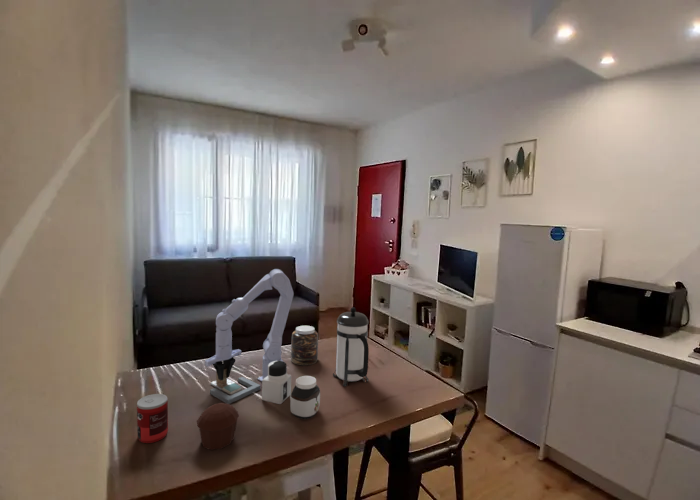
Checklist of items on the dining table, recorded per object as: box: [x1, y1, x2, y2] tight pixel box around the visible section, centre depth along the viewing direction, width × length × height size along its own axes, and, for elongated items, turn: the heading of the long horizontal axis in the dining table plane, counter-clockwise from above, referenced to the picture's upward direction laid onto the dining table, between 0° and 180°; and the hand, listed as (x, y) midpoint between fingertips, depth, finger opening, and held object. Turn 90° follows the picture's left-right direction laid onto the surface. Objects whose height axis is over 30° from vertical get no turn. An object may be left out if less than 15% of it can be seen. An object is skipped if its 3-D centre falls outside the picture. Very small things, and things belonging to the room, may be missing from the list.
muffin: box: [196, 402, 240, 451], centre depth 102 cm, size 12×11×10 cm
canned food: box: [136, 393, 169, 444], centre depth 103 cm, size 8×8×11 cm
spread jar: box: [289, 375, 321, 420], centre depth 119 cm, size 12×11×12 cm
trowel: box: [210, 367, 236, 391], centre depth 135 cm, size 6×7×6 cm
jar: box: [290, 325, 319, 366], centre depth 160 cm, size 12×12×15 cm
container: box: [261, 360, 292, 405], centre depth 127 cm, size 8×8×13 cm
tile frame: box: [209, 376, 262, 405], centre depth 130 cm, size 11×14×2 cm
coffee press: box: [332, 306, 370, 388], centre depth 142 cm, size 17×16×30 cm
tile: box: [222, 382, 243, 396], centre depth 132 cm, size 5×5×2 cm
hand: (223, 378), depth 135 cm, fingers closed on trowel
